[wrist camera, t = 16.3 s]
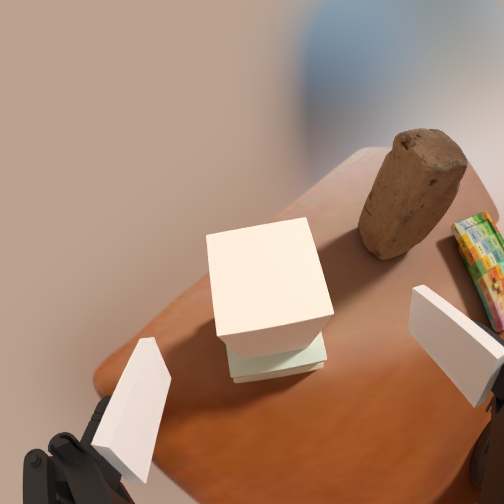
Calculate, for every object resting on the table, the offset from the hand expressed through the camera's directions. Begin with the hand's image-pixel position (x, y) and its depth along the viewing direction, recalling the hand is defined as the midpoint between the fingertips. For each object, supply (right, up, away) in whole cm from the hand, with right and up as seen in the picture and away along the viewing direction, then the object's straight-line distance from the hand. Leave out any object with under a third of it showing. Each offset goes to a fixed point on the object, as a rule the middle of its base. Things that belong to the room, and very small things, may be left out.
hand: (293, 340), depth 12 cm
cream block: (0, -3, +13) cm, 13 cm away
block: (+20, +6, +27) cm, 34 cm away
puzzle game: (+40, 0, +23) cm, 46 cm away
